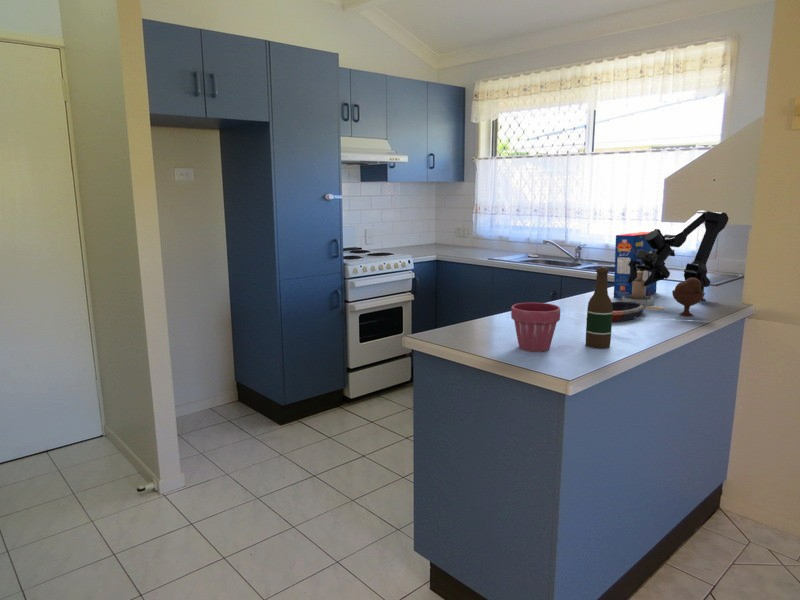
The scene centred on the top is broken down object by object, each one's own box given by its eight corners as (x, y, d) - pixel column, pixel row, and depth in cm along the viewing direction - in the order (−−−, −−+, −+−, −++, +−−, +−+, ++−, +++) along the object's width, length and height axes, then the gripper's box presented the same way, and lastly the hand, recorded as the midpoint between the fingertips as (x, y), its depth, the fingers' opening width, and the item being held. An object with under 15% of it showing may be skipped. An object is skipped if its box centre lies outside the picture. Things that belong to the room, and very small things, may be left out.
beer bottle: (580, 342, 181) (584, 266, 177) (604, 342, 182) (609, 266, 177) (590, 349, 173) (595, 270, 169) (615, 348, 174) (621, 269, 170)
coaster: (643, 307, 237) (643, 305, 237) (662, 307, 236) (662, 306, 236) (646, 310, 231) (647, 309, 231) (665, 311, 229) (665, 310, 229)
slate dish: (620, 300, 251) (620, 294, 251) (650, 302, 248) (650, 295, 248) (624, 306, 240) (624, 299, 239) (655, 307, 237) (655, 300, 236)
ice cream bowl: (694, 313, 225) (698, 275, 222) (706, 319, 214) (710, 279, 211) (666, 313, 226) (669, 275, 223) (677, 319, 215) (680, 279, 212)
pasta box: (639, 290, 277) (641, 232, 273) (656, 292, 272) (658, 232, 268) (613, 298, 258) (615, 235, 253) (631, 299, 252) (634, 235, 248)
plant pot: (505, 351, 172) (506, 308, 169) (515, 340, 184) (517, 300, 182) (554, 356, 166) (556, 312, 164) (561, 344, 179) (563, 304, 176)
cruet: (632, 300, 248) (634, 269, 245) (645, 301, 245) (648, 270, 242) (629, 302, 243) (632, 271, 241) (643, 303, 240) (646, 272, 238)
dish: (656, 315, 223) (657, 302, 222) (612, 326, 204) (613, 313, 203) (619, 309, 234) (619, 297, 234) (574, 319, 215) (575, 306, 214)
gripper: (633, 241, 249) (610, 268, 247) (667, 245, 232) (643, 274, 230) (646, 259, 253) (624, 285, 252) (680, 264, 236) (657, 292, 234)
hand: (636, 284), depth 242 cm, fingers open, 9 cm apart
